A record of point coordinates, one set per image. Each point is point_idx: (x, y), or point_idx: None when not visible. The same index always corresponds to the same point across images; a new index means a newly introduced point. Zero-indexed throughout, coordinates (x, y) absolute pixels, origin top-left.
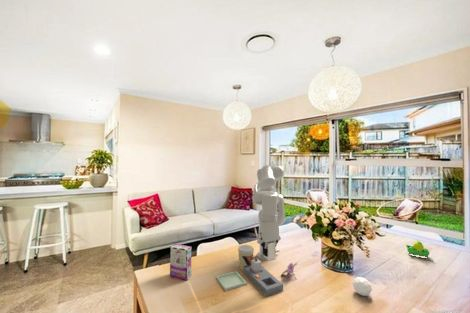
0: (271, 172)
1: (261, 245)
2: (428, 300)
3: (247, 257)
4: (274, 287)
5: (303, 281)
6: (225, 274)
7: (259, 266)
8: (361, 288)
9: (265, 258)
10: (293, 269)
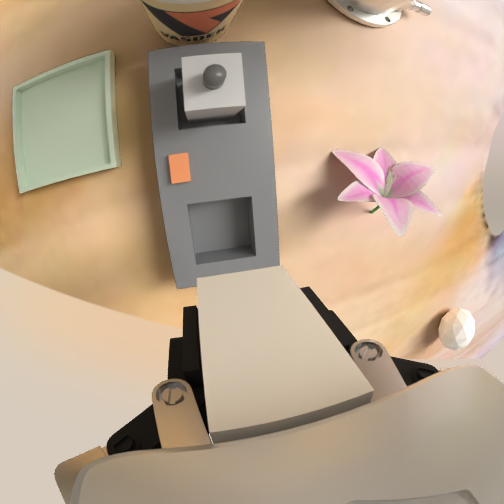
0: None
1: (136, 431)
2: (480, 343)
3: (175, 15)
4: None
5: (388, 225)
6: (50, 74)
7: (225, 111)
8: (446, 344)
9: (342, 2)
10: (398, 196)
